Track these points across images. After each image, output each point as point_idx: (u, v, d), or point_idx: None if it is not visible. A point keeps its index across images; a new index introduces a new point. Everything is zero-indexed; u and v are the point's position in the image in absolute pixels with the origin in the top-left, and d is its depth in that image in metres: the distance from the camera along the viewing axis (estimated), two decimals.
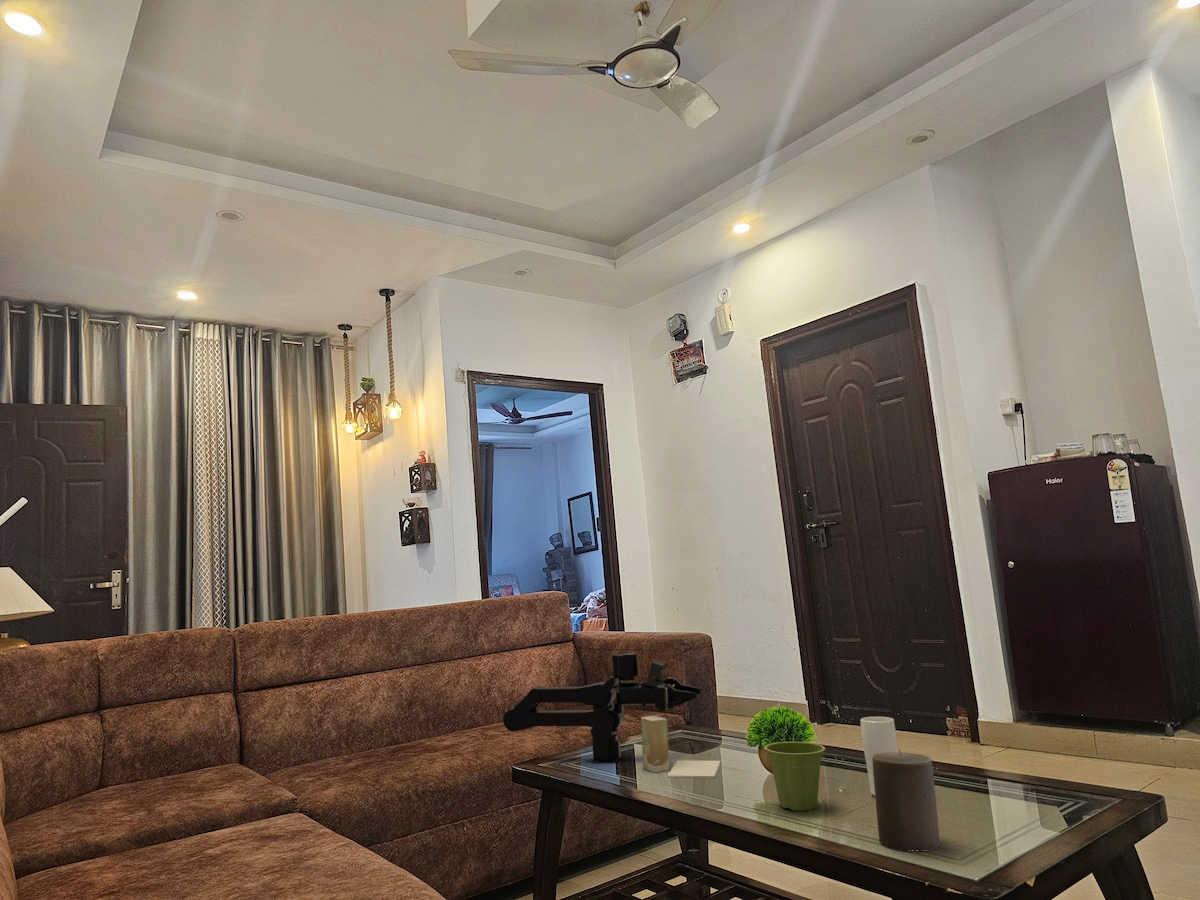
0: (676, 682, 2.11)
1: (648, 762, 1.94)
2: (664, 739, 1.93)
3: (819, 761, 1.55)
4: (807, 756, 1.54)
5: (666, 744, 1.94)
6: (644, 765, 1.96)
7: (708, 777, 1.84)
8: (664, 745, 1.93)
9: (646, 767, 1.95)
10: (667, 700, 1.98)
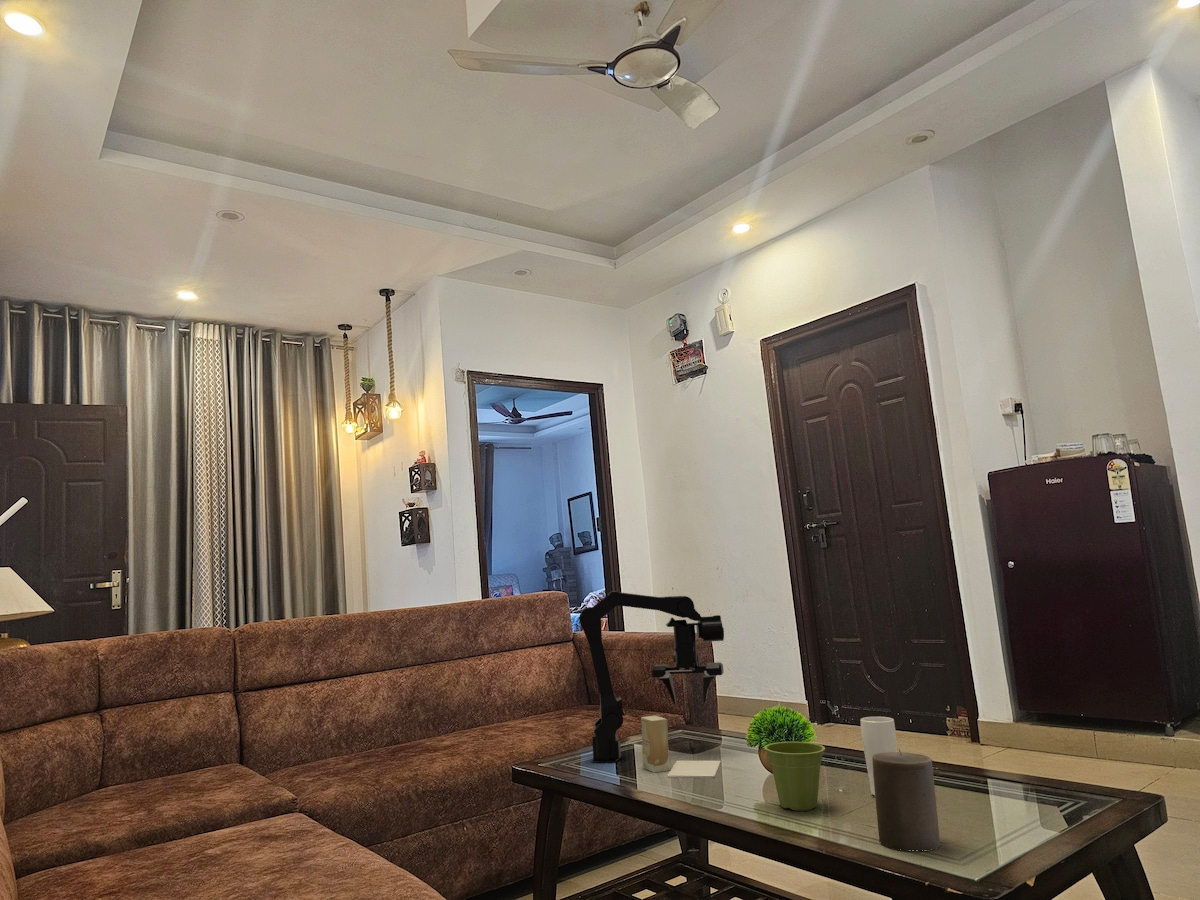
0: (672, 678, 2.15)
1: (648, 762, 1.94)
2: (664, 739, 1.93)
3: (819, 761, 1.55)
4: (807, 756, 1.54)
5: (666, 744, 1.94)
6: (644, 765, 1.96)
7: (708, 777, 1.84)
8: (664, 745, 1.93)
9: (646, 767, 1.95)
10: (715, 675, 2.09)
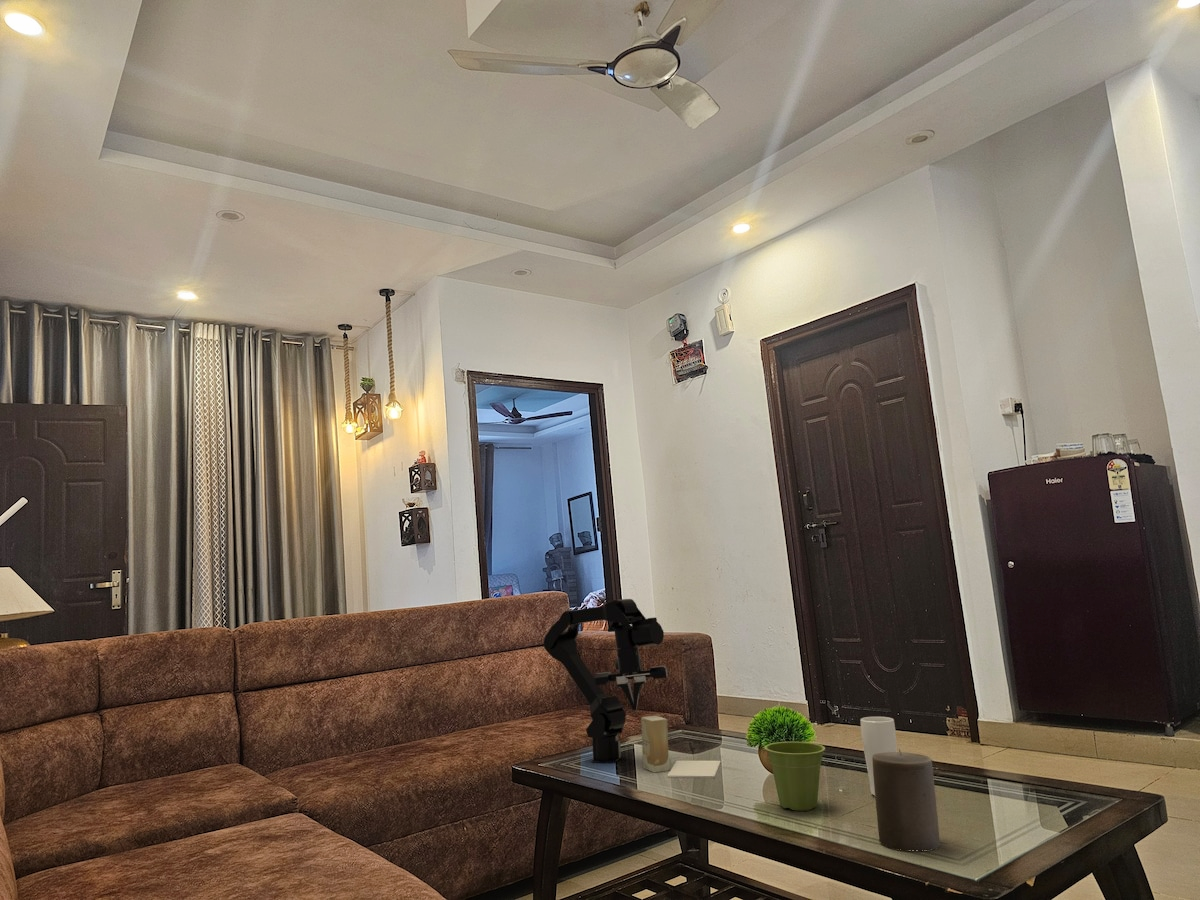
0: None
1: (648, 762, 1.94)
2: (664, 739, 1.93)
3: (819, 761, 1.55)
4: (807, 756, 1.54)
5: (666, 744, 1.94)
6: (644, 765, 1.96)
7: (708, 777, 1.84)
8: (664, 745, 1.93)
9: (646, 767, 1.95)
10: (645, 680, 2.04)
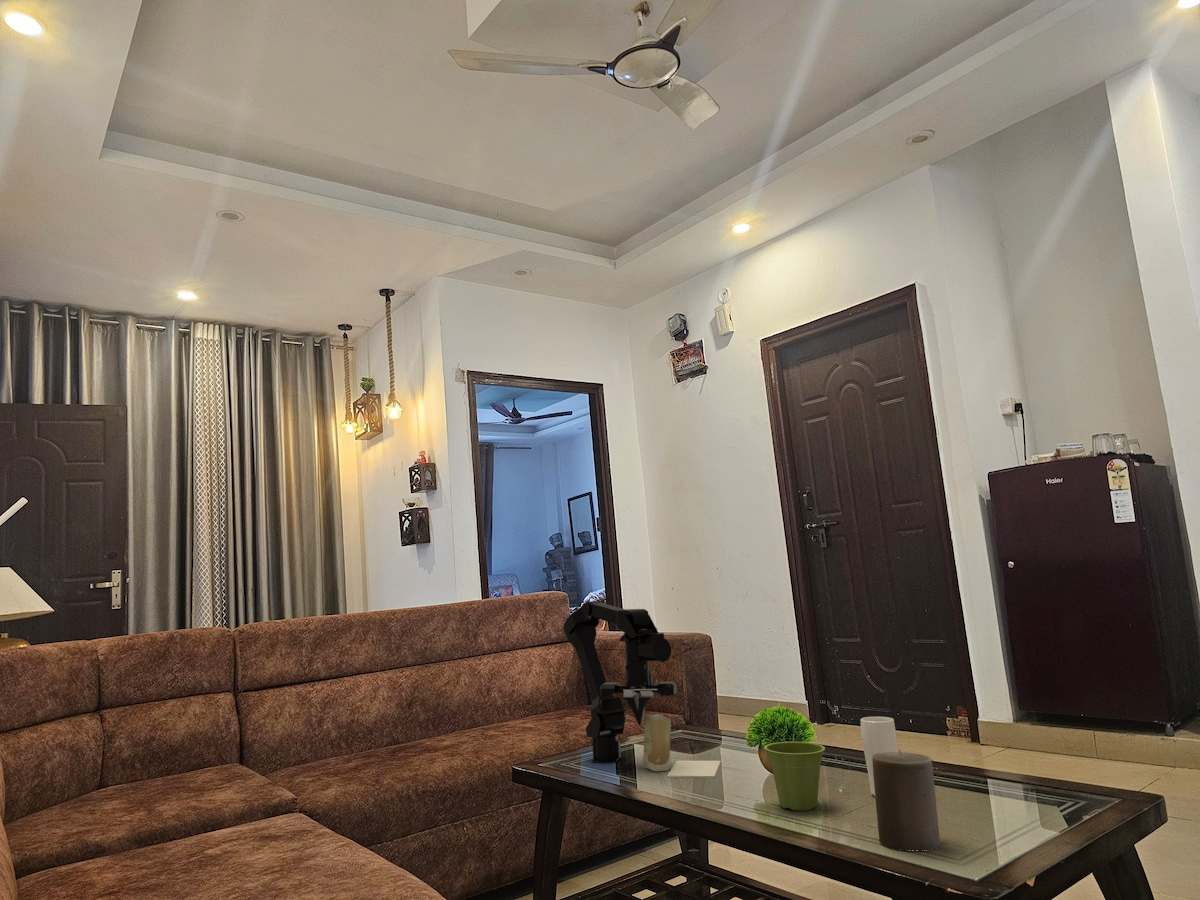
0: (638, 696, 2.00)
1: (648, 761, 1.94)
2: (666, 739, 1.93)
3: (819, 761, 1.55)
4: (807, 756, 1.54)
5: (668, 744, 1.93)
6: (644, 763, 1.96)
7: (708, 777, 1.84)
8: (666, 745, 1.93)
9: (646, 765, 1.95)
10: (651, 696, 1.97)
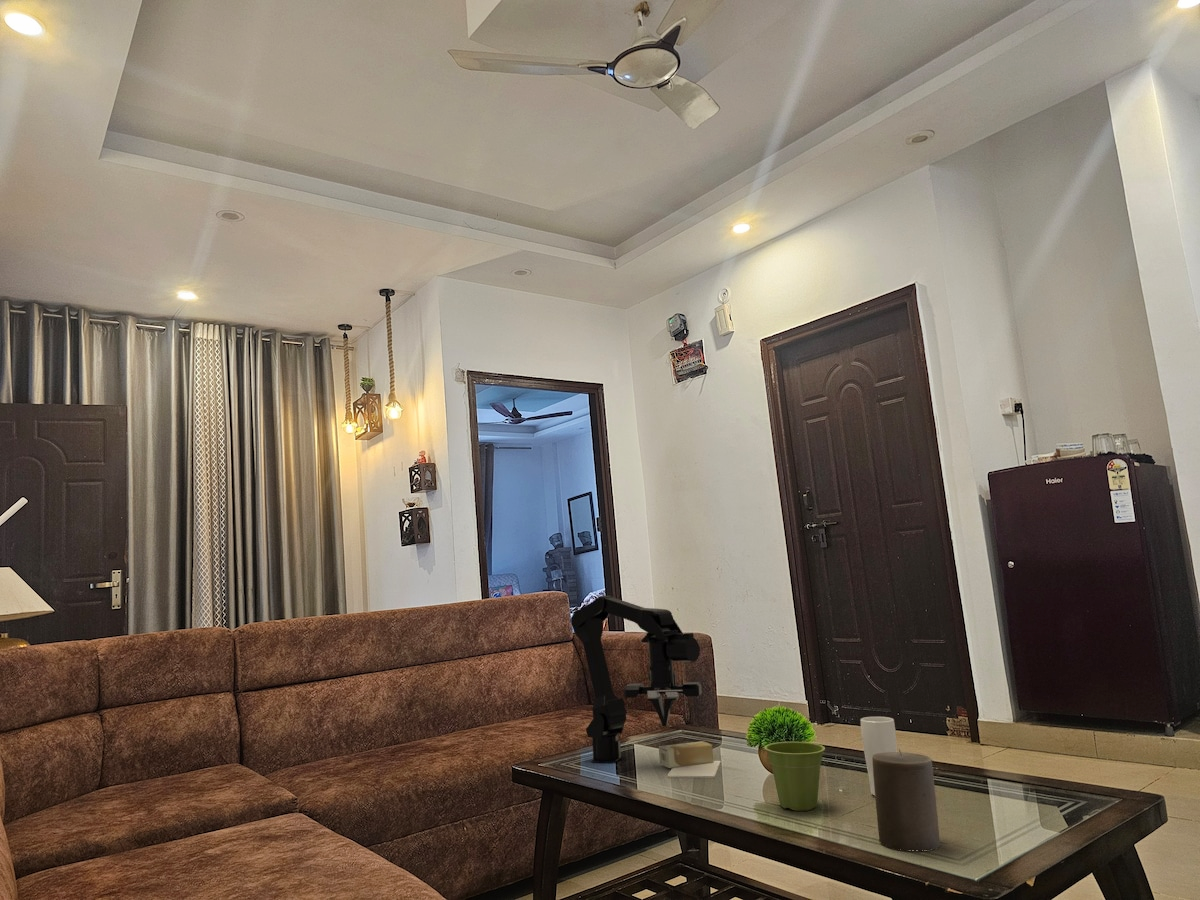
0: (661, 698, 1.99)
1: (669, 747, 1.97)
2: (696, 760, 1.96)
3: (819, 761, 1.55)
4: (807, 756, 1.54)
5: (691, 762, 1.95)
6: (662, 746, 1.99)
7: (708, 777, 1.84)
8: (691, 760, 1.95)
9: (663, 747, 1.98)
10: (677, 697, 1.95)
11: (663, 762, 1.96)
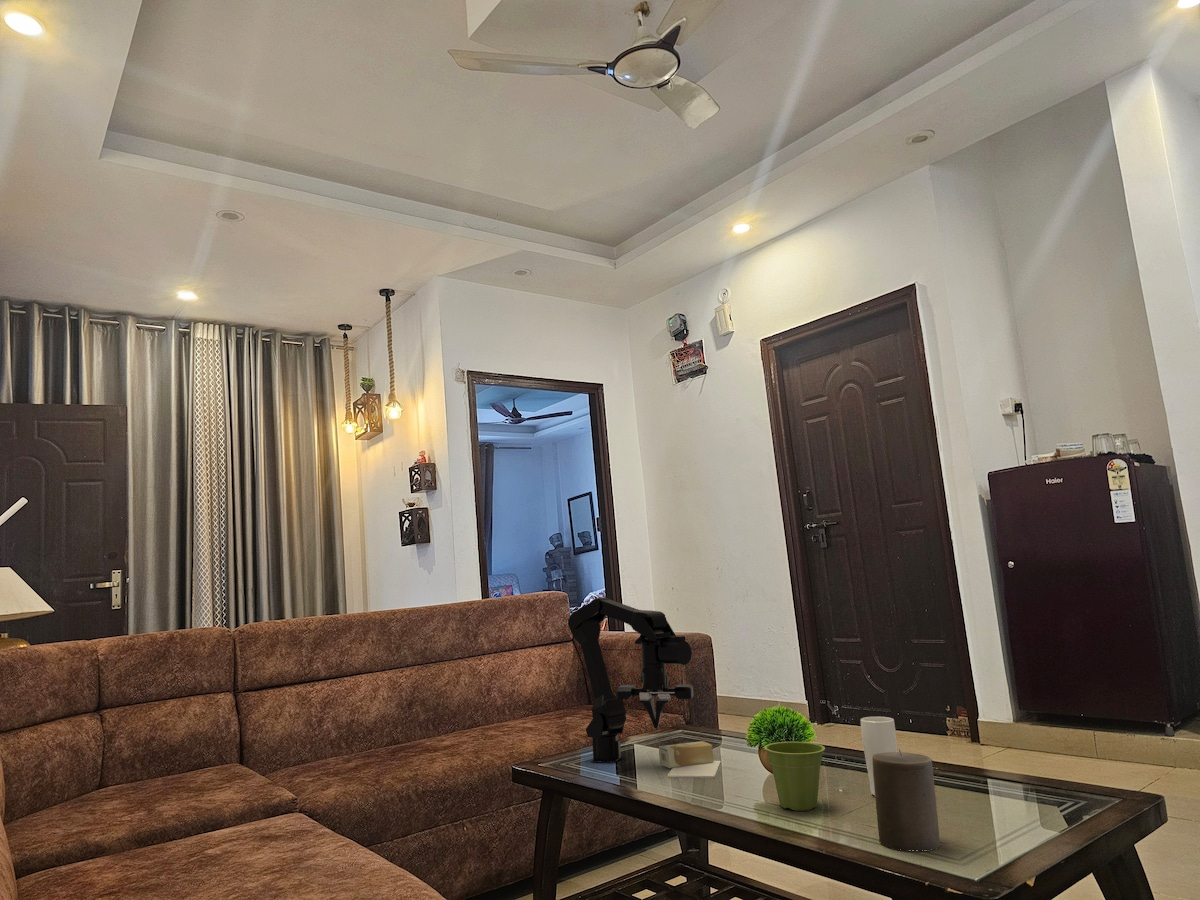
0: (653, 699, 1.99)
1: (669, 747, 1.97)
2: (696, 760, 1.96)
3: (819, 761, 1.56)
4: (807, 756, 1.54)
5: (691, 762, 1.95)
6: (662, 746, 1.99)
7: (708, 777, 1.84)
8: (691, 760, 1.95)
9: (663, 747, 1.98)
10: (669, 699, 1.96)
11: (663, 762, 1.96)
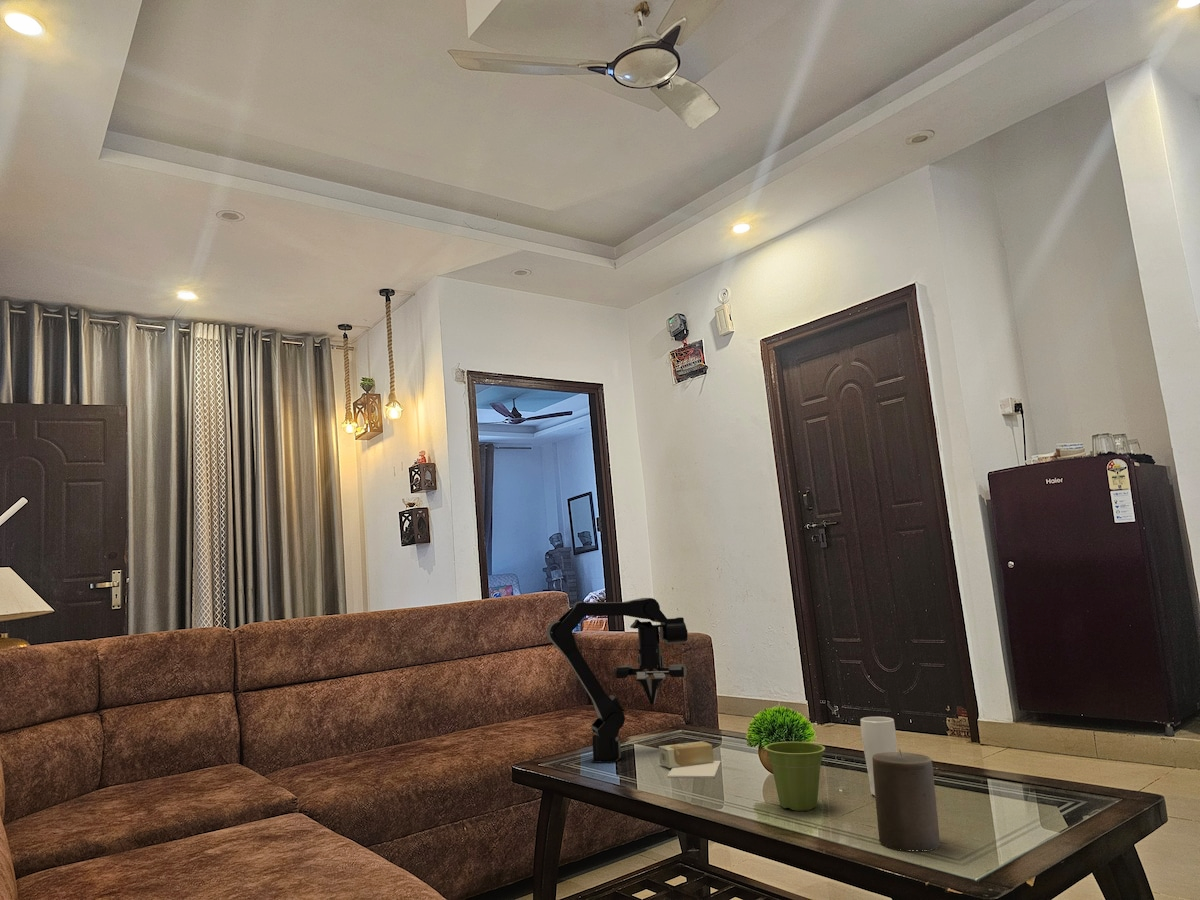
0: None
1: (669, 747, 1.97)
2: (696, 760, 1.96)
3: (819, 761, 1.55)
4: (807, 756, 1.54)
5: (691, 762, 1.95)
6: (662, 746, 1.99)
7: (708, 777, 1.84)
8: (691, 760, 1.95)
9: (663, 747, 1.98)
10: (663, 677, 2.12)
11: (663, 762, 1.96)
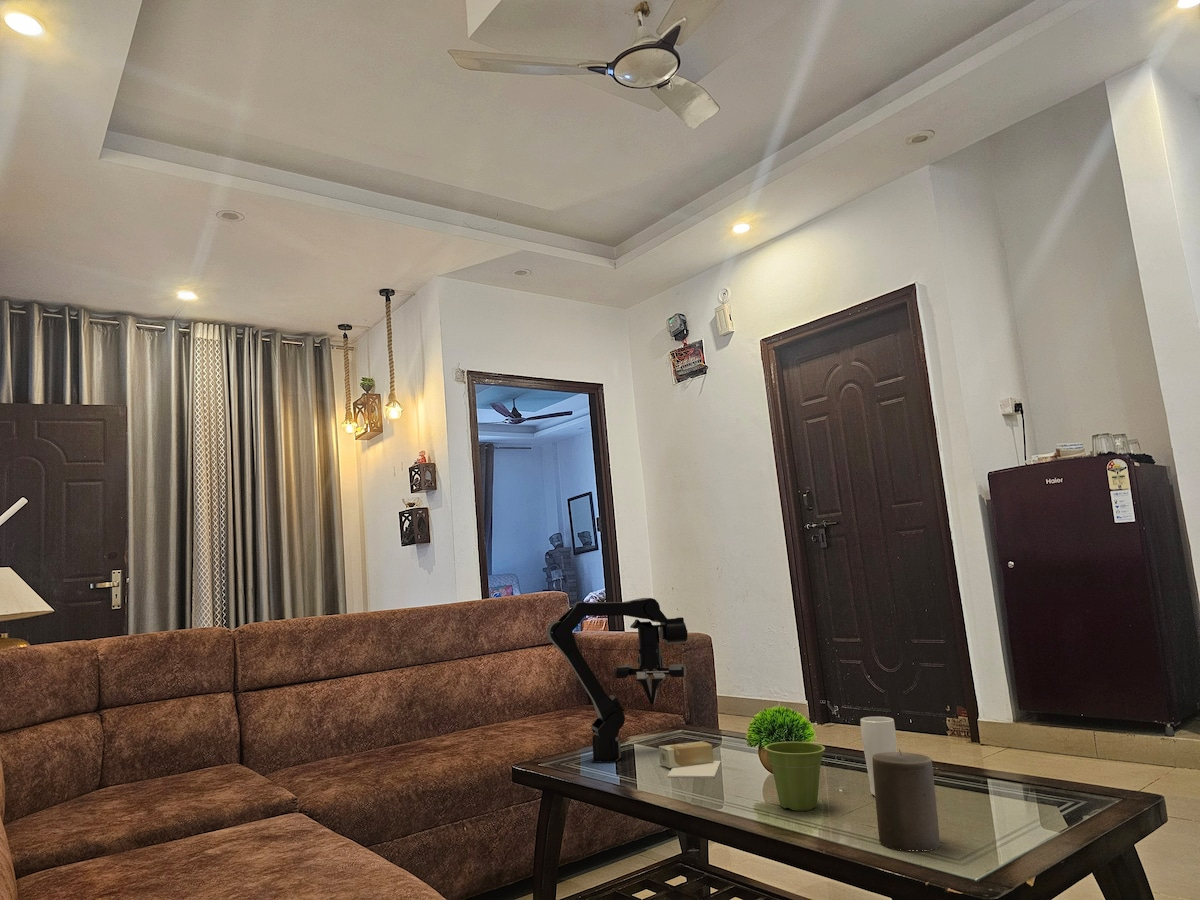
0: None
1: (669, 747, 1.97)
2: (696, 760, 1.96)
3: (819, 761, 1.55)
4: (807, 756, 1.54)
5: (691, 762, 1.95)
6: (662, 746, 1.99)
7: (708, 777, 1.84)
8: (691, 760, 1.95)
9: (663, 747, 1.98)
10: (663, 677, 2.12)
11: (663, 762, 1.96)
